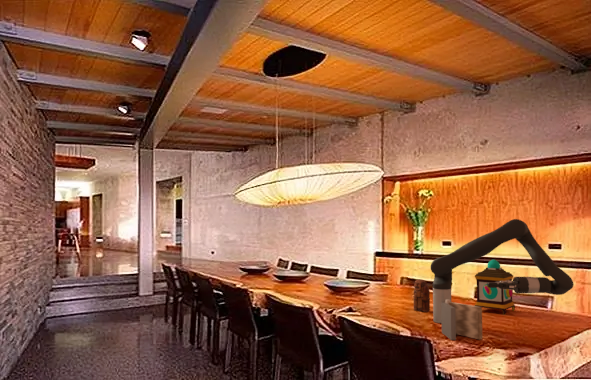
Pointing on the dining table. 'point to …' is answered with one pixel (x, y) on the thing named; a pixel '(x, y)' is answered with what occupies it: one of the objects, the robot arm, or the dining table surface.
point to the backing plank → (448, 320)
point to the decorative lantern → (494, 296)
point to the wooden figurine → (421, 296)
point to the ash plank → (468, 320)
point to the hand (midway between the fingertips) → (487, 285)
